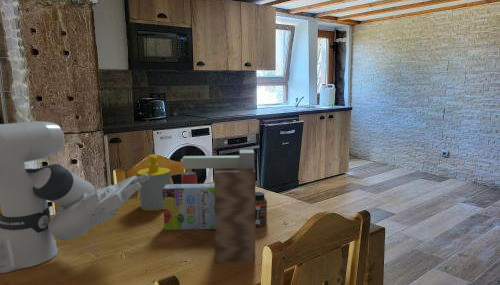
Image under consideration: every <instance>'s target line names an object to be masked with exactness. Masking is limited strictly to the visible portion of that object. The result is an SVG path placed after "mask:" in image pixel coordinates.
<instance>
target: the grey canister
mask: <svg viewBox="0 0 500 285" xmlns="http://www.w3.org/2000/svg"><path fill="white" fill-rule="evenodd" d="M158 157H159V155H158V154H149V155H148V158H150V159H149V160H150V163H148V168H147V167H146V168H143V169H139V170H138V171H137V172H136V173H137V178H138V177H140V176H142V175H144V174H148V175H149V177H150V178H149V179H148V180H147V181H145V182H143V183H141V186H142V187H141V188H140V189H139V190H138V192H139V200H140V208H141V210H144V211H152V212H155V211H161V210H164V208H163V188H164V186H165V185H168V184H171V169H170V168H167V167H160V166H159V165H160V164H159V163H158V162H157V159H158Z"/></svg>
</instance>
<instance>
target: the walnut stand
mask: <svg viewBox="0 0 500 285" xmlns="http://www.w3.org/2000/svg"><path fill="white" fill-rule="evenodd" d="M255 169H256V168H254V169H240V168H214V174H213V176H214V177H213V178H214V179H213V180H214V184H215V229H214V230H215V263H245V262H246V263H249V262H256V226H255V192H256V170H255Z"/></svg>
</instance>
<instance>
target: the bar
mask: <svg viewBox="0 0 500 285" xmlns="http://www.w3.org/2000/svg"><path fill="white" fill-rule="evenodd" d="M181 159H182V169H183V170H184V169H185V170H186V169H188V170H192V169H193V170H195V169H196V170H197V169H198V170H199V169H204V170H205V169H215V168H240V169H255V151H254V149H239V155H184V156H182V158H181Z"/></svg>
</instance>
